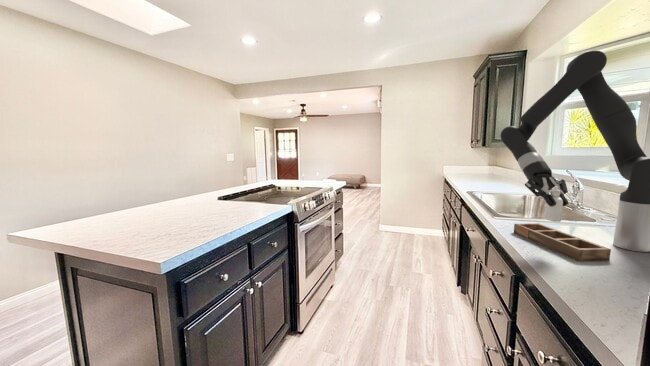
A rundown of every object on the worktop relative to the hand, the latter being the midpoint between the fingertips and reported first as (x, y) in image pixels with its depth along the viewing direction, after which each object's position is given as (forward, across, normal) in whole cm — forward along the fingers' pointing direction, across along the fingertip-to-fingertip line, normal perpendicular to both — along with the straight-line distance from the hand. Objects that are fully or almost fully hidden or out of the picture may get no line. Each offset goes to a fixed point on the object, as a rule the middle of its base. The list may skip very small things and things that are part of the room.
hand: (559, 205), depth 88 cm
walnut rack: (+7, +8, +18) cm, 21 cm away
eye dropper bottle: (+3, 0, +6) cm, 6 cm away
